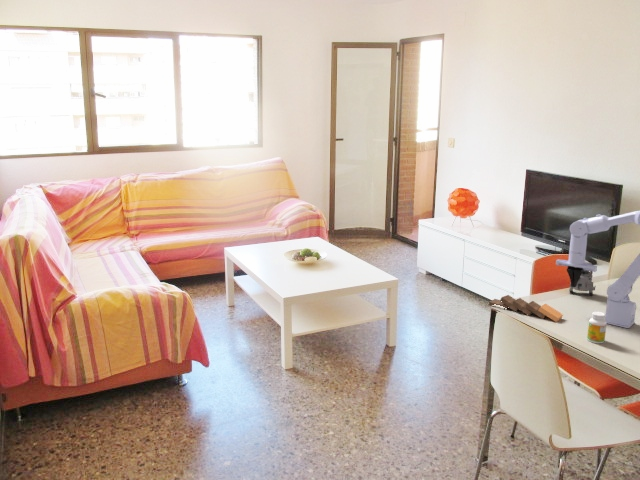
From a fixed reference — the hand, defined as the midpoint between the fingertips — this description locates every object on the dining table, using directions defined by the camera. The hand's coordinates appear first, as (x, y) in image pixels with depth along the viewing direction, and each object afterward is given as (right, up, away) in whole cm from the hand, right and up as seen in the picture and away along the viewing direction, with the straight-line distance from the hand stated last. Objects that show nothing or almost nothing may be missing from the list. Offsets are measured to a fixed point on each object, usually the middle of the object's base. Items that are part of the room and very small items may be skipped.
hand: (573, 286), depth 229 cm
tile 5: (-22, -9, +6) cm, 25 cm away
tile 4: (-19, -9, +3) cm, 22 cm away
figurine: (+13, -6, +23) cm, 27 cm away
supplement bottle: (-3, -17, -25) cm, 30 cm away
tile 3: (-16, -10, 0) cm, 19 cm away
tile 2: (-12, -11, -3) cm, 16 cm away
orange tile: (-8, -11, -6) cm, 15 cm away
